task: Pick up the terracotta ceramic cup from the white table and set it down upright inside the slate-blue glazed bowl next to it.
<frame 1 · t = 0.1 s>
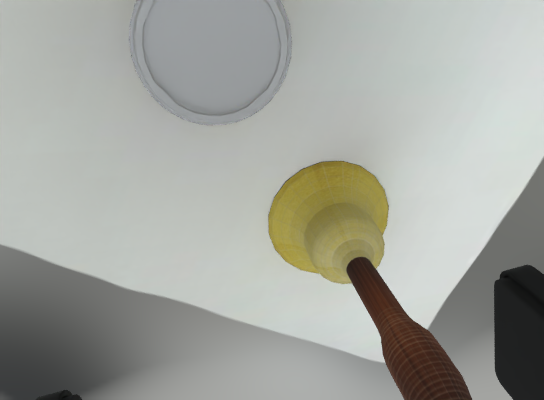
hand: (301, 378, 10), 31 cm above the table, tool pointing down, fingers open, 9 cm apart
handbell: (328, 219, 44), on the table
disposable coffee cup: (210, 37, 36), on the table
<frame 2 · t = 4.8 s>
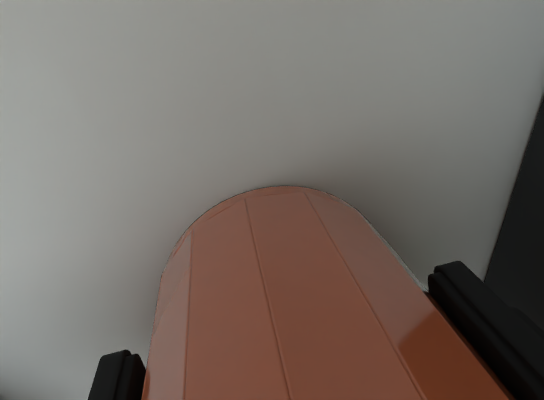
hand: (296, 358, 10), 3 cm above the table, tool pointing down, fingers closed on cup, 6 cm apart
cup: (278, 291, 13), on the table, touching gripper
when the fingers open (3 cm above the table, at t = 11.1 s): cup stays where it is, resting on bowl.
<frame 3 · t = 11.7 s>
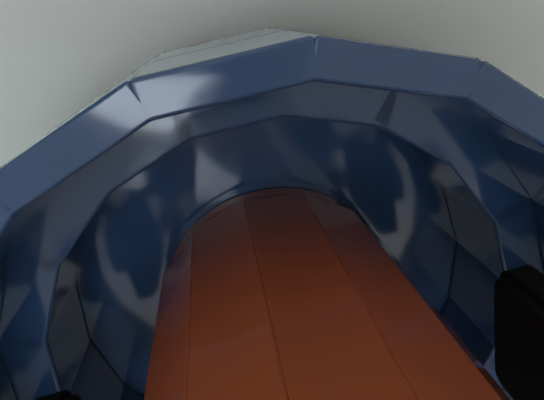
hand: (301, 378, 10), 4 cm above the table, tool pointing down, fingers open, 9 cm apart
bowl: (273, 277, 14), on the table
cup: (277, 290, 13), point 1 cm above the table, touching bowl
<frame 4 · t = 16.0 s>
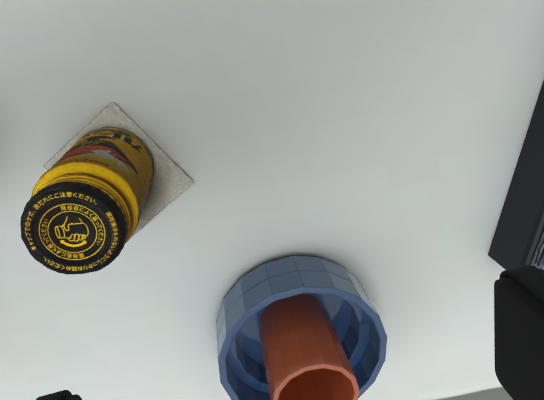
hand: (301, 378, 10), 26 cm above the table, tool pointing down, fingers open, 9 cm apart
bowl: (292, 318, 42), on the table
cup: (293, 323, 41), point 1 cm above the table, touching bowl
condiment: (121, 172, 34), on the table
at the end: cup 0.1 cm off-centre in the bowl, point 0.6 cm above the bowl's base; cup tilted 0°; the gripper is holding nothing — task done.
